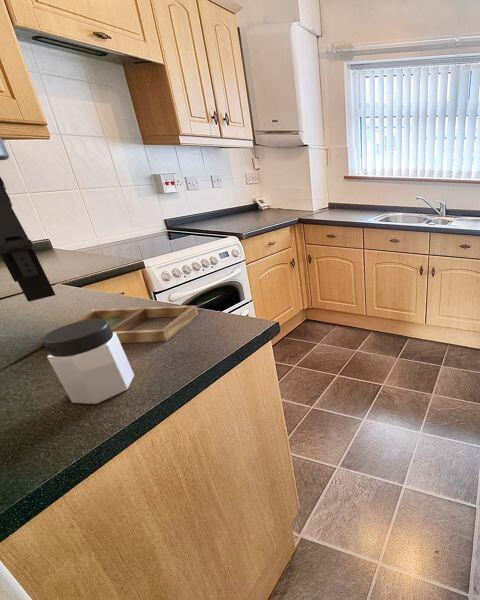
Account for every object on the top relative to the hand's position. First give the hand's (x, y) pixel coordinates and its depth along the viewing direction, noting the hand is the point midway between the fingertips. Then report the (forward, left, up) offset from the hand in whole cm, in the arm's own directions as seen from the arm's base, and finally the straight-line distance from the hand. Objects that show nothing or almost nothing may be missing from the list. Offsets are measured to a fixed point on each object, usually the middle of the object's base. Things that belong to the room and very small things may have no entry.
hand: (33, 287), depth 50 cm
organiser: (-11, +25, -20) cm, 34 cm away
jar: (+1, +2, -20) cm, 21 cm away
